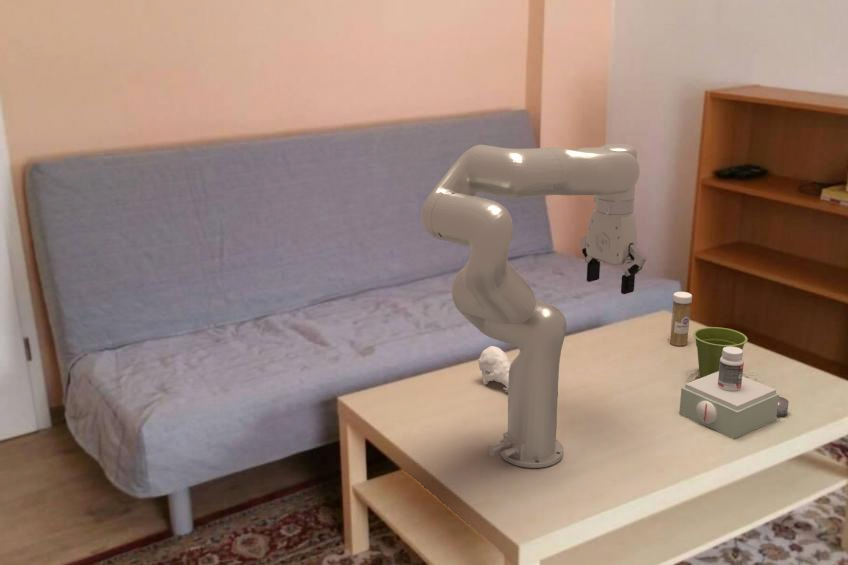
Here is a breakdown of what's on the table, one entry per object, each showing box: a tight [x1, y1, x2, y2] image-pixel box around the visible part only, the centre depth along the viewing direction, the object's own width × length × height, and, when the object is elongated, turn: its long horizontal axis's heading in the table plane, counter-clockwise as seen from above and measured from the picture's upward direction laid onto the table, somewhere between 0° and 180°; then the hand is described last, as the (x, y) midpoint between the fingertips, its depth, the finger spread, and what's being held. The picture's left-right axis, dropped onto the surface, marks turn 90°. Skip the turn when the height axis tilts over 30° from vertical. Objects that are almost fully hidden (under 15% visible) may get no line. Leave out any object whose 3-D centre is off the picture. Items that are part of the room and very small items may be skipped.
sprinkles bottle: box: [669, 291, 693, 347], centre depth 225 cm, size 5×5×14 cm
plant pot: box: [692, 326, 749, 379], centre depth 204 cm, size 12×12×11 cm
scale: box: [679, 371, 780, 439], centre depth 188 cm, size 15×14×7 cm
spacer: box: [776, 396, 790, 419], centre depth 190 cm, size 4×4×3 cm
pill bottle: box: [718, 346, 745, 391], centre depth 185 cm, size 5×5×8 cm
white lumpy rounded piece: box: [477, 345, 512, 393], centre depth 203 cm, size 6×8×12 cm
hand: (609, 286), depth 184 cm, fingers open, 9 cm apart
